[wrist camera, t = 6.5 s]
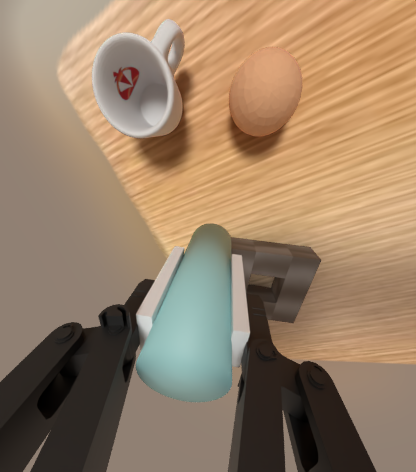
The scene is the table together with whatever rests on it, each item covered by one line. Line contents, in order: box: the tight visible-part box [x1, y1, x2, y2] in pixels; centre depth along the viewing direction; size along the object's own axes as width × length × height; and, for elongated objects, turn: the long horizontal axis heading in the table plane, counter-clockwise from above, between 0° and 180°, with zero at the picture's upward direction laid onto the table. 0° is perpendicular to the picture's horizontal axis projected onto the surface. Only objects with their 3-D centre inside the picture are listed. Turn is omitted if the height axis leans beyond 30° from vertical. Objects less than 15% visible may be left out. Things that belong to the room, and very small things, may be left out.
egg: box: [229, 47, 302, 136], centre depth 19 cm, size 7×7×8 cm
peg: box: [136, 224, 232, 402], centre depth 13 cm, size 4×4×12 cm
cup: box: [92, 19, 184, 138], centre depth 20 cm, size 11×8×8 cm
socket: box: [231, 237, 321, 323], centre depth 32 cm, size 14×14×4 cm
